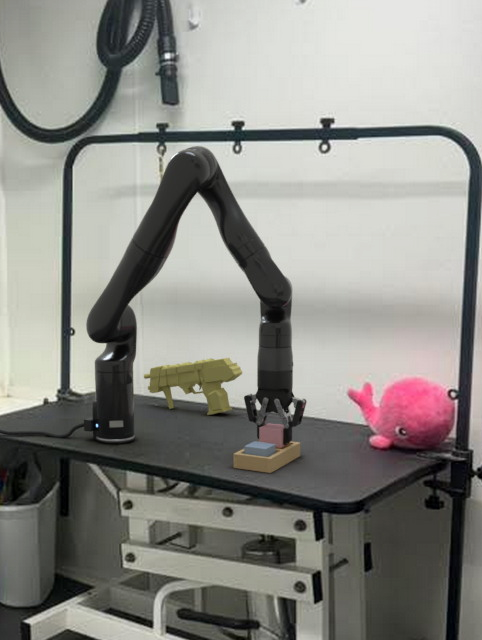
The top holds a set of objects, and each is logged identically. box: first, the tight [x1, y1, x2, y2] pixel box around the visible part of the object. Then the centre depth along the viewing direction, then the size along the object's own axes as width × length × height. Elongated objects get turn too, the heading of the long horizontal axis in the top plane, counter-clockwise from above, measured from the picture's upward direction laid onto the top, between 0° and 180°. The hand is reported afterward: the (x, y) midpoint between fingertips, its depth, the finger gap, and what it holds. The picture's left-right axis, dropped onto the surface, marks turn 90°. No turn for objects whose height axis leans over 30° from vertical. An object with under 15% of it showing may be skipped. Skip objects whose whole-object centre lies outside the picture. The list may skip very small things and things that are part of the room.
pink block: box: [258, 422, 285, 448], centre depth 206 cm, size 5×5×4 cm
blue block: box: [243, 440, 276, 457], centre depth 201 cm, size 5×5×4 cm
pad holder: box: [232, 440, 301, 474], centre depth 204 cm, size 8×16×3 cm, turn 144°
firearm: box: [143, 357, 243, 416], centre depth 257 cm, size 4×30×15 cm, turn 51°
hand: (274, 442), depth 206 cm, fingers closed on pink block, 5 cm apart
